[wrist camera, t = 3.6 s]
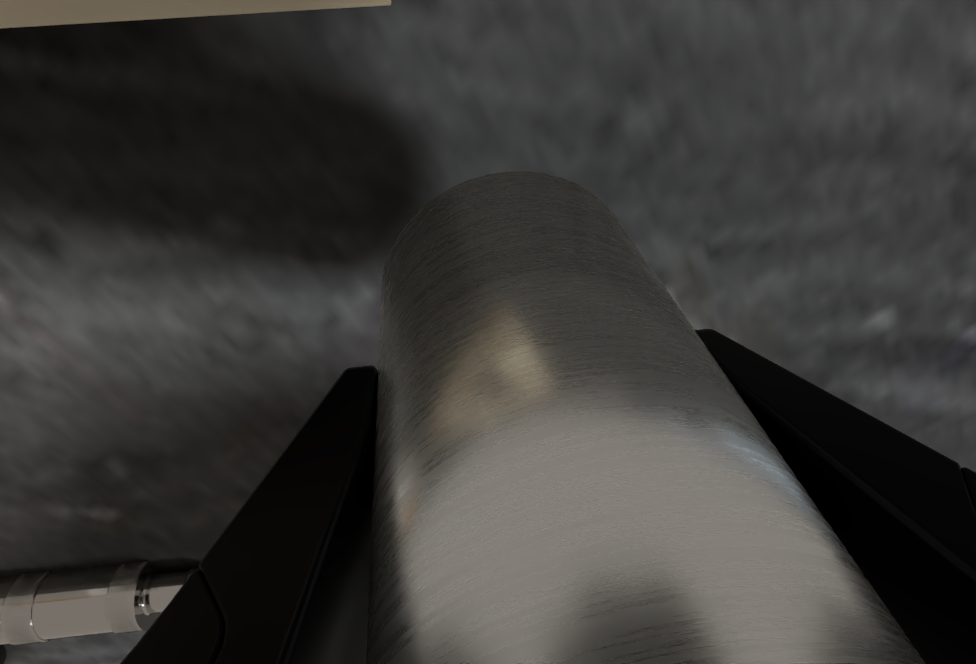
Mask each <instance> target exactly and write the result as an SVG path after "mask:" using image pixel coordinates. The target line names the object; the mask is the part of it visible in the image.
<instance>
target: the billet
mask: <svg viewBox="0 0 976 664" xmlns="http://www.w3.org/2000/svg"><path fill="white" fill-rule="evenodd" d="M366 664H925V662H924V661H923V659H922V658H921V656H920V655H919V653H918V652H917V651H916V649H915V648H914V646H913V645H912V643H911V642H910V640H909V639H908V638H907V636H906V635H905V633H904V632H903V630H902V629H901V628H900V626H899V625H898V623H897V622H896V620H895V619H894V617H893V616H892V615H891V613H890V612H889V610H888V609H887V607H886V606H885V604H884V603H883V602H882V600H881V599H880V597H879V596H878V594H877V593H876V591H875V590H874V589H873V587H872V586H871V584H870V583H869V581H868V580H867V578H866V577H865V576H864V574H863V573H862V571H861V570H860V568H859V567H858V565H857V564H856V563H855V561H854V560H853V558H852V557H851V555H850V554H849V552H848V551H847V550H846V548H845V547H844V545H843V544H842V542H841V541H840V539H839V538H838V537H837V535H836V534H835V532H834V531H833V529H832V528H831V526H830V525H829V524H828V522H827V521H826V519H825V518H824V516H823V515H822V513H821V512H820V511H819V509H818V508H817V506H816V505H815V503H814V502H813V501H812V499H811V498H810V496H809V495H808V493H807V492H806V490H805V489H804V488H803V486H802V485H801V483H800V482H799V480H798V479H797V477H796V476H795V475H794V473H793V472H792V470H791V469H790V467H789V466H788V464H787V463H786V462H785V460H784V459H783V457H782V456H781V454H780V453H779V451H778V450H777V449H776V447H775V446H774V444H773V443H772V441H771V440H770V438H769V437H768V436H767V434H766V433H765V431H764V430H763V428H762V427H761V425H760V424H759V423H758V421H757V420H756V418H755V417H754V415H753V414H752V412H751V411H750V410H749V408H748V407H747V405H746V404H745V402H744V401H743V399H742V398H741V397H740V395H739V394H738V392H737V391H736V389H735V388H734V386H733V385H732V384H731V382H730V381H729V379H728V378H727V376H726V375H725V374H724V372H723V371H722V369H721V368H720V366H719V365H718V363H717V362H716V361H715V359H714V358H713V356H712V355H711V353H710V352H709V350H708V349H707V348H706V346H705V345H704V343H703V342H702V340H701V339H700V337H699V336H698V335H697V333H696V332H695V330H694V329H693V327H692V326H691V324H690V323H689V322H688V320H687V319H686V317H685V316H684V314H683V313H682V311H681V310H680V309H679V307H678V306H677V304H676V303H675V301H674V300H673V298H672V297H671V296H670V294H669V293H668V291H667V290H666V288H665V287H664V285H663V284H662V283H661V281H660V280H659V278H658V277H657V275H656V274H655V272H654V271H653V270H652V268H651V267H650V265H649V264H648V262H647V261H646V259H645V258H644V257H643V255H642V254H641V252H640V251H639V249H638V248H637V247H636V245H635V244H634V242H633V241H632V239H631V238H630V236H629V235H628V234H627V232H626V231H625V229H624V228H623V226H622V225H621V223H620V222H619V221H618V219H617V218H616V216H615V215H614V213H613V212H612V211H611V210H610V209H609V208H608V207H607V206H606V205H605V203H604V202H602V201H601V200H600V199H599V198H597V197H596V196H595V195H594V194H593V193H591V192H590V191H588V190H586V189H584V188H583V187H581V186H579V185H578V184H575V183H573V182H570V181H568V180H565V179H563V178H560V177H556V176H552V175H548V174H544V173H535V172H503V173H497V174H490V175H486V176H482V177H478V178H475V179H471V180H469V181H466V182H464V183H461V184H459V185H457V186H454V187H452V188H450V189H449V190H447V191H445V192H443V193H442V194H440V195H438V196H437V197H435V198H434V199H433V200H431V201H430V202H429V203H427V204H426V205H425V206H423V207H422V208H421V209H420V210H419V211H418V212H417V213H416V214H415V215H414V216H413V217H412V218H411V219H410V220H409V221H408V223H407V224H406V225H405V227H404V228H403V229H402V230H401V232H400V233H399V235H398V236H397V238H396V240H395V242H394V244H393V245H392V247H391V249H390V252H389V255H388V257H387V260H386V262H385V267H384V272H383V276H382V290H381V313H380V337H379V361H378V386H377V410H376V434H375V457H374V481H373V505H372V529H371V553H370V577H369V601H368V625H367V649H366Z"/></svg>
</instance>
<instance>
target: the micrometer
mask: <svg viewBox="0 0 976 664" xmlns="http://www.w3.org/2000/svg"><path fill="white" fill-rule="evenodd" d="M194 570H200V568H199V567H196V568H192V569H191V570H190V571H181V572H171V573H162V574H157V573H156V572H155V570H154V568H153V567H152V565H151V563H150V562H149V561H143V562H134V563H123V564H121V565H115V566H105V567H95V568H85V569H75V570H65V571H55V572H53V571H43V572H34V573H24V574H22V575H16V576H6V577H0V664H4V662H5V659H6V650H5V647H4V645H7V644H12V645H23V644H32V643H41V642H47V641H50V640H52V639H60V638H69V637H78V636H87V635H96V634H105V633H113V632H114V633H117V634H120V633H129V632H138V631H147V630H148V629H149V628H150V627H151V626H152V624H153V623H154V622H155V620H156V619H157V618H158V617H159V615H160V613H161V612H163V610H164V609H165V608H166V607H167V605H168V604H169V603H170V601H171V600H172V599H173V598H174V596H175V595H176V594H177V592H178V591H179V590H180V588H181V587H182V586H183V584H184V583H185V582H186V580H187V579H188V578H189V576H190V575H191V574H192V572H193V571H194ZM200 571H201V570H200Z"/></svg>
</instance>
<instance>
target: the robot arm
mask: <svg viewBox="0 0 976 664" xmlns="http://www.w3.org/2000/svg"><path fill="white" fill-rule="evenodd" d="M695 332H696V333H697V335H698V336H699V337H700V339H701V340H702V342H703V343H704V345H705V346H706V348H707V349H708V350H709V352H710V353H711V355H712V356H713V358H714V359H715V361H716V362H717V363H718V365H719V366H720V368H721V369H722V371H723V372H724V374H725V375H726V376H727V378H728V379H729V381H730V382H731V384H732V385H733V386H734V388H735V389H736V391H737V392H738V394H739V395H740V397H741V398H742V399H743V401H744V402H745V404H746V405H747V407H748V408H749V410H750V411H751V412H752V414H753V415H754V417H755V418H756V420H757V421H758V423H759V424H760V425H761V427H762V428H763V430H764V431H765V433H766V434H767V436H768V437H769V438H770V440H771V441H772V443H773V444H774V446H775V447H776V449H777V450H778V451H779V453H780V454H781V456H782V457H783V459H784V460H785V462H786V463H787V464H788V466H789V467H790V469H791V470H792V472H793V473H794V475H795V476H796V477H797V479H798V480H799V482H800V483H801V485H802V486H803V488H804V489H805V490H806V492H807V493H808V495H809V496H810V498H811V499H812V501H813V502H814V503H815V505H816V506H817V508H818V509H819V511H820V512H821V513H822V515H823V516H824V518H825V519H826V521H827V522H828V524H829V525H830V526H831V528H832V529H833V531H834V532H835V534H836V535H837V537H838V538H839V539H840V541H841V542H842V544H843V545H844V547H845V548H846V550H847V551H848V552H849V554H850V555H851V557H852V558H853V560H854V561H855V563H856V564H857V565H858V567H859V568H860V570H861V571H862V573H863V574H864V576H865V577H866V578H867V580H868V581H869V583H870V584H871V586H872V587H873V589H874V590H875V591H876V593H877V594H878V596H879V597H880V599H881V600H882V602H883V603H884V604H885V606H886V607H887V609H888V610H889V612H890V613H891V615H892V616H893V617H894V619H895V620H896V622H897V623H898V625H899V626H900V628H901V629H902V630H903V632H904V633H905V635H906V636H907V638H908V639H909V640H910V642H911V643H912V645H913V646H914V648H915V649H916V651H917V652H918V653H919V655H920V656H921V658H922V659H923V661H924V662H925V664H976V473H975V472H974V471H972V470H970V469H968V468H965V467H964V468H960V465H959V464H958V463H957V462H955V461H953V460H951V459H949V458H948V457H946V456H944V455H942V454H940V453H938V452H937V451H935V450H933V449H931V448H929V447H927V446H926V445H924V444H922V443H920V442H918V441H916V440H915V439H913V438H911V437H909V436H907V435H905V434H904V433H902V432H900V431H898V430H896V429H894V428H893V427H891V426H889V425H887V424H885V423H883V422H882V421H880V420H878V419H876V418H874V417H872V416H871V415H869V414H867V413H865V412H863V411H861V410H860V409H858V408H856V407H854V406H852V405H850V404H849V403H847V402H845V401H843V400H841V399H839V398H838V397H836V396H834V395H832V394H830V393H828V392H827V391H825V390H823V389H821V388H819V387H817V386H816V385H814V384H812V383H810V382H808V381H806V380H805V379H803V378H801V377H799V376H797V375H795V374H794V373H792V372H790V371H788V370H786V369H784V368H783V367H781V366H779V365H777V364H775V363H773V362H772V361H770V360H768V359H766V358H764V357H762V356H761V355H759V354H757V353H755V352H753V351H751V350H750V349H748V348H746V347H744V346H742V345H740V344H738V343H737V342H735V341H733V340H731V339H729V338H727V337H726V336H724V335H722V334H720V333H718V332H716V331H714V330H712V329H702V330H695ZM377 386H378V372H377V369H376V368H375V367H374V366H362V367H353V368H348V369H346V370H345V371H344V372H343V373H342V375H341V376H340V377H339V379H338V380H337V381H336V383H335V384H334V385H333V387H332V388H331V389H330V391H329V392H328V393H327V395H326V396H325V397H324V399H323V400H322V401H321V403H320V404H319V405H318V407H317V408H316V409H315V411H314V412H313V413H312V415H311V416H310V417H309V419H308V420H307V421H306V423H305V424H304V425H303V427H302V428H301V429H300V430H299V432H298V433H297V434H296V436H295V437H294V438H293V440H292V441H291V442H290V444H289V445H288V446H287V448H286V449H285V450H284V452H283V453H282V454H281V456H280V457H279V458H278V460H277V461H276V462H275V464H274V465H273V466H272V468H271V469H270V470H269V472H268V473H267V474H266V476H265V477H264V478H263V480H262V481H261V482H260V484H259V485H258V486H257V488H256V489H255V490H254V492H253V493H252V494H251V496H250V497H249V498H248V500H247V501H246V502H245V504H244V505H243V506H242V508H241V509H240V510H239V512H238V513H237V514H236V516H235V517H234V518H233V520H232V521H231V522H230V524H229V525H228V526H227V528H226V529H225V530H224V532H223V533H222V534H221V536H220V537H219V538H218V540H217V541H216V542H215V544H214V545H213V546H212V548H211V549H210V550H209V552H208V553H207V554H206V556H205V557H204V558H203V559H202V561H201V562H200V564H199V568H200V570H201V571H200V570H194V571H193V572H192V574H191V575H190V576H189V578H188V579H187V580H186V582H185V583H184V584H183V586H182V587H181V588H180V590H179V591H178V592H177V594H176V595H175V596H174V598H173V599H172V600H171V601H170V603H169V604H168V605H167V607H166V608H165V609H164V610H163V612H162V613H161V614H160V615H159V617H158V618H157V619H156V620H155V622H154V623H153V624H152V626H151V627H150V628H149V629H148V631H147V632H146V633H145V634H144V636H143V637H142V638H141V640H140V641H139V642H138V643H137V645H136V646H135V647H134V648H133V649H132V650H131V652H130V653H129V654H128V655H127V656H126V657H125V659H124V660H123V661H122V662H121V663H120V664H366V649H367V625H368V601H369V577H370V553H371V529H372V505H373V481H374V457H375V434H376V410H377Z"/></svg>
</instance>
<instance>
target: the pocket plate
mask: <svg viewBox="0 0 976 664" xmlns="http://www.w3.org/2000/svg"><path fill="white" fill-rule="evenodd" d="M384 5H391V0H0V28H16V27H32V26H49V25H66V24H83V23H99V22H116V21H133V20H150V19H166V18H183V17H200V16H217V15H233V14H250V13H267V12H284V11H301V10H317V9H334V8H351V7H368V6H384Z"/></svg>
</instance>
